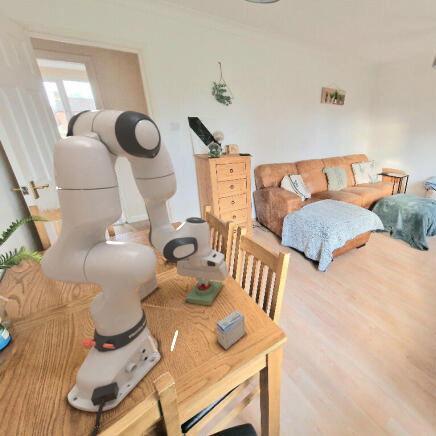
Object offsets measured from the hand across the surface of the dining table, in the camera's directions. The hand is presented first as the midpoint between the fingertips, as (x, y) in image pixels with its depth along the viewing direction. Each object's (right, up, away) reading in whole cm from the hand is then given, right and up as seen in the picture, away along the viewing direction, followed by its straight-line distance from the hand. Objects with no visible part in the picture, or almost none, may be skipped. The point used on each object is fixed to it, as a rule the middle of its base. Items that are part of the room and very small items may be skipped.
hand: (204, 285), depth 98 cm
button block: (0, -4, +1) cm, 4 cm away
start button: (0, -2, +1) cm, 2 cm away
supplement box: (-29, -4, -1) cm, 29 cm away
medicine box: (+16, -13, -18) cm, 27 cm away
